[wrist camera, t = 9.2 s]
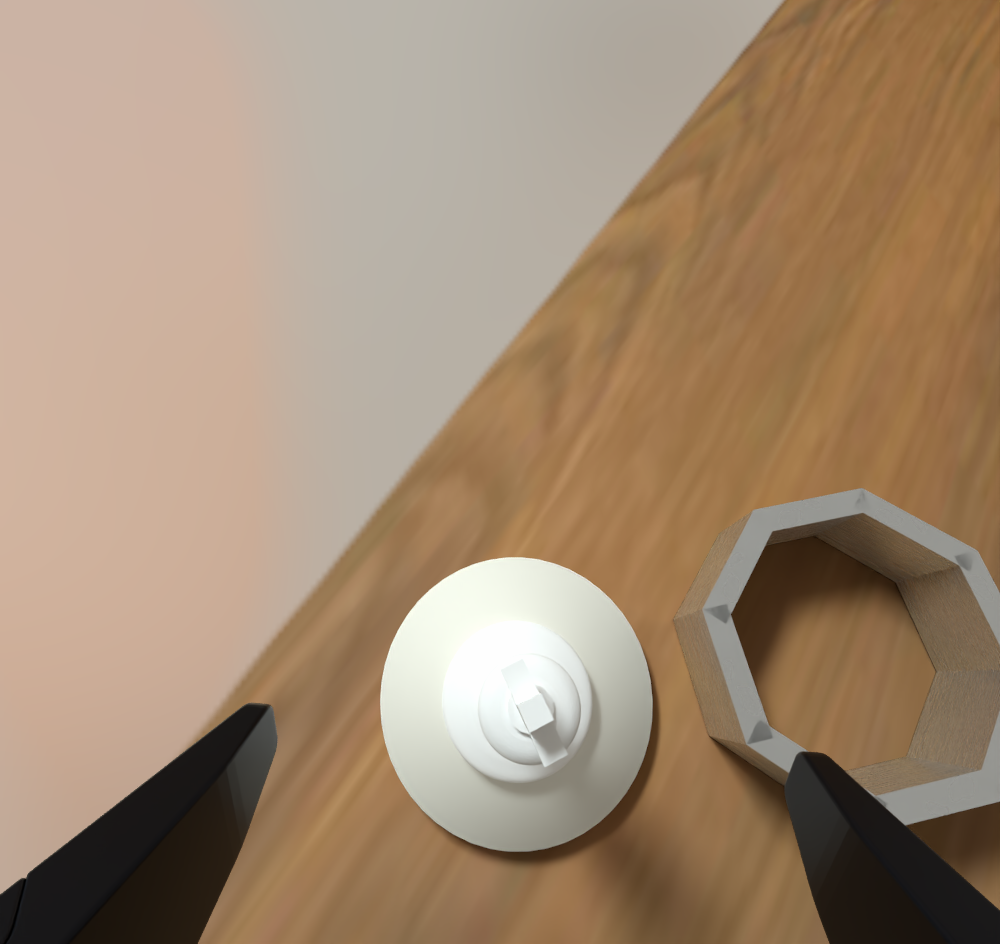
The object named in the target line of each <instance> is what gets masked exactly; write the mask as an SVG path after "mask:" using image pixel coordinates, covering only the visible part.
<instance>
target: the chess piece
mask: <svg viewBox="0 0 1000 944" xmlns="http://www.w3.org/2000/svg"><path fill="white" fill-rule="evenodd" d="M442 709H443V717H444V721H445V725H446V728H447V731H448V734H449V736H450V738H451V740H452V742H453V744H454V746H455V747H456V749H457V750H458V752H459V753H460V754H461V756H462V757H463V758H464V759H465V760H466V761H467V762H468V763H469V764H470V765H471V766H472V767H474V768H475V769H476V770H478V771H479V772H481V773H483V774H484V775H486V776H488V777H491V778H493V779H496V780H499V781H503V782H509V783H528V782H533V781H537V780H541V779H543V778H546V777H548V776H550V775H552V774H554V773H555V772H557V771H558V770H560V769H561V768H562V767H564V766H565V765H566V764H567V763H568V762H569V761H570V760H571V759H572V758H573V757H574V755H575V754H576V753H577V751H578V750H579V748H580V747H581V745H582V743H583V741H584V739H585V737H586V734H587V732H588V729H589V725H590V721H591V715H592V691H591V685H590V681H589V678H588V674H587V672H586V669H585V667H584V665H583V663H582V661H581V659H580V658H579V656H578V654H577V653H576V652H575V650H574V649H573V648H572V647H571V645H570V644H569V643H568V642H567V641H566V640H565V639H563V638H562V637H561V636H560V635H558V634H557V633H555V632H554V631H552V630H550V629H549V628H547V627H544V626H542V625H539V624H536V623H532V622H527V621H505V622H500V623H496V624H493V625H491V626H488V627H486V628H484V629H482V630H480V631H479V632H477V633H476V634H474V635H473V636H472V637H471V638H470V639H468V640H467V641H466V642H465V643H464V644H463V645H462V647H461V648H460V649H459V650H458V652H457V653H456V655H455V656H454V658H453V660H452V662H451V664H450V666H449V668H448V671H447V673H446V677H445V681H444V685H443V693H442Z"/></svg>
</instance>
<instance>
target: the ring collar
mask: <svg viewBox="0 0 1000 944" xmlns="http://www.w3.org/2000/svg"><path fill="white" fill-rule="evenodd" d="M811 536H815V537H817V538H819V539H821V540H822V541H824V542H826V543H828V544H829V545H831V546H833V547H835V548H836V549H838V550H840V551H842V552H843V553H845V554H847V555H849V556H850V557H852V558H854V559H856V560H857V561H859V562H861V563H863V564H864V565H866V566H868V567H870V568H872V569H873V570H875V571H877V572H879V573H880V574H882V575H884V576H886V577H887V578H889V579H891V580H893V581H894V582H896V584H897V587H898V589H899V591H900V593H901V595H902V598H903V600H904V602H905V604H906V606H907V608H908V611H909V613H910V615H911V617H912V619H913V621H914V624H915V626H916V628H917V630H918V632H919V635H920V637H921V639H922V641H923V643H924V645H925V648H926V650H927V652H928V654H929V656H930V658H931V661H932V663H933V665H934V667H935V669H936V671H937V672H936V675H935V678H934V680H933V683H932V686H931V689H930V692H929V695H928V697H927V700H926V703H925V706H924V709H923V712H922V714H921V717H920V720H919V723H918V726H917V729H916V731H915V734H914V737H913V740H912V743H911V746H910V748H909V751H908V754H907V757H903V758H898V759H894V760H890V761H886V762H882V763H878V764H874V765H869V766H865V767H861V768H857V769H853V770H849V771H845V772H847V773H848V774H849V775H850V776H851V777H852V778H853V779H854V780H855V781H857V782H858V783H859V784H860V785H861V786H862V787H863V788H864V789H865V790H867V791H868V792H869V793H870V794H871V795H872V796H873V797H874V798H875V799H877V800H878V801H879V802H880V803H881V804H882V805H883V806H884V807H885V808H887V809H888V810H889V811H890V812H891V813H892V814H893V815H894V816H895V817H897V818H898V819H899V820H900V821H901V822H902V823H903V824H904V825H908V824H912V823H916V822H920V821H924V820H928V819H932V818H936V817H940V816H944V815H948V814H952V813H956V812H960V811H964V810H968V809H972V808H976V807H980V806H984V805H988V804H992V803H996V802H1000V593H999V591H998V589H997V587H996V585H995V583H994V581H993V579H992V577H991V575H990V574H989V572H988V570H987V568H986V566H985V564H984V562H983V560H982V558H981V556H980V554H979V553H978V551H977V550H975V549H974V548H972V547H970V546H968V545H966V544H964V543H963V542H961V541H959V540H957V539H955V538H953V537H951V536H950V535H948V534H946V533H944V532H942V531H940V530H938V529H937V528H935V527H933V526H931V525H929V524H927V523H926V522H924V521H922V520H920V519H918V518H916V517H914V516H913V515H911V514H909V513H907V512H905V511H903V510H902V509H900V508H898V507H896V506H894V505H892V504H890V503H889V502H887V501H885V500H883V499H881V498H879V497H877V496H876V495H874V494H872V493H870V492H868V491H866V490H865V489H863V488H860V489H856V490H851V491H846V492H841V493H836V494H831V495H826V496H821V497H816V498H811V499H806V500H801V501H796V502H791V503H786V504H781V505H776V506H771V507H766V508H761V509H756V510H753V511H751V512H750V513H749V514H747V515H746V516H744V517H743V518H741V519H740V520H738V521H737V522H735V523H734V524H732V525H731V526H729V527H728V528H727V529H725V530H724V531H722V532H721V533H719V535H718V537H717V539H716V540H715V542H714V544H713V546H712V548H711V550H710V552H709V554H708V555H707V557H706V559H705V561H704V563H703V565H702V567H701V569H700V571H699V572H698V574H697V576H696V578H695V580H694V582H693V584H692V586H691V587H690V589H689V591H688V593H687V595H686V597H685V599H684V601H683V602H682V604H681V606H680V608H679V610H678V612H677V614H676V616H675V617H674V619H673V621H674V624H675V627H676V631H677V634H678V637H679V640H680V644H681V647H682V650H683V653H684V657H685V660H686V663H687V666H688V670H689V673H690V676H691V679H692V683H693V686H694V689H695V692H696V696H697V699H698V702H699V705H700V709H701V712H702V715H703V718H704V722H705V725H706V728H707V732H708V735H709V736H710V737H712V738H713V739H715V740H716V741H718V742H719V743H721V744H722V745H724V746H725V747H727V748H728V749H730V750H731V751H733V752H734V753H736V754H737V755H739V756H740V757H742V758H743V759H745V760H746V761H748V762H749V763H750V764H752V765H753V766H755V767H756V768H758V769H759V770H761V771H762V772H764V773H765V774H767V775H768V776H770V777H771V778H773V779H774V780H776V781H777V782H779V783H780V784H782V785H783V786H785V782H786V780H787V777H788V774H789V772H790V769H791V767H792V764H793V761H794V759H795V756H796V754H798V753H799V752H801V751H807V750H805V749H804V748H802V747H801V746H799V745H797V744H796V743H794V742H793V741H791V740H790V739H788V738H787V737H785V736H784V735H782V734H781V733H779V732H778V731H776V730H775V729H773V728H771V727H770V726H769V724H768V721H767V719H766V716H765V713H764V710H763V707H762V704H761V701H760V698H759V695H758V692H757V690H756V687H755V684H754V681H753V678H752V675H751V672H750V669H749V666H748V663H747V661H746V658H745V655H744V652H743V649H742V646H741V643H740V640H739V637H738V634H737V632H736V629H735V626H734V623H733V620H732V617H731V613H732V611H733V609H734V607H735V605H736V603H737V601H738V599H739V597H740V595H741V593H742V591H743V589H744V587H745V585H746V583H747V581H748V579H749V577H750V575H751V573H752V571H753V569H754V567H755V565H756V563H757V561H758V559H759V557H760V555H761V553H762V551H763V549H764V547H765V546H767V545H772V544H777V543H781V542H786V541H791V540H796V539H801V538H806V537H811ZM807 752H808V751H807Z"/></svg>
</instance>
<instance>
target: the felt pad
mask: <svg viewBox="0 0 1000 944" xmlns="http://www.w3.org/2000/svg"><path fill="white" fill-rule="evenodd" d="M505 621H527V622H532V623H536V624H539V625H542V626H544V627H547V628H549V629H550V630H552V631H554V632H555V633H557V634H558V635H560V636H561V637H562V638H563V639H565V640H566V641H567V642H568V643H569V644H570V645H571V647H572V648H573V649H574V650H575V652H576V653H577V654H578V656H579V658H580V659H581V661H582V663H583V665H584V667H585V669H586V672H587V674H588V678H589V681H590V685H591V691H592V715H591V721H590V725H589V729H588V732H587V734H586V737H585V739H584V741H583V743H582V745H581V747H580V748H579V750H578V751H577V753H576V754H575V755H574V757H573V758H572V759H571V760H570V761H569V762H568V763H567V764H566V765H565V766H564V767H562V768H561V769H560V770H558V771H557V772H555V773H554V774H552V775H550V776H548V777H546V778H543V779H541V780H537V781H533V782H528V783H509V782H503V781H499V780H496V779H493V778H491V777H488V776H486V775H484V774H483V773H481V772H479V771H478V770H476V769H475V768H474V767H472V766H471V765H470V764H469V763H468V762H467V761H466V760H465V759H464V758H463V757H462V756H461V754H460V753H459V752H458V750H457V749H456V747H455V746H454V744H453V742H452V740H451V738H450V736H449V734H448V731H447V728H446V725H445V721H444V717H443V709H442V693H443V685H444V681H445V677H446V673H447V671H448V668H449V666H450V664H451V662H452V660H453V658H454V656H455V655H456V653H457V652H458V650H459V649H460V648H461V647H462V645H463V644H464V643H465V642H466V641H467V640H468V639H470V638H471V637H472V636H473V635H474V634H476V633H477V632H479V631H480V630H482V629H484V628H486V627H488V626H491V625H493V624H496V623H500V622H505ZM652 706H653V699H652V689H651V680H650V675H649V671H648V666H647V662H646V659H645V656H644V654H643V651H642V648H641V645H640V643H639V641H638V639H637V637H636V635H635V633H634V631H633V629H632V627H631V626H630V624H629V623H628V621H627V619H626V618H625V616H624V615H623V613H622V612H621V611H620V610H619V609H618V607H617V606H616V605H615V604H614V603H613V601H612V600H611V599H610V598H609V597H608V596H607V595H606V594H604V593H603V592H602V591H601V590H600V589H599V588H598V587H597V586H595V585H594V584H592V583H591V582H590V581H588V580H587V579H586V578H584V577H582V576H580V575H579V574H577V573H575V572H573V571H571V570H569V569H567V568H564V567H562V566H559V565H557V564H554V563H550V562H546V561H543V560H539V559H531V558H523V557H522V558H499V559H492V560H487V561H484V562H480V563H476V564H473V565H471V566H468V567H466V568H463V569H461V570H459V571H457V572H455V573H454V574H452V575H450V576H448V577H447V578H445V579H443V580H442V581H441V582H439V583H438V584H437V585H435V586H434V587H433V588H431V589H430V590H429V591H428V592H427V593H426V594H425V595H424V596H423V597H422V598H421V599H420V600H419V601H418V602H417V604H416V605H415V606H414V607H413V609H412V610H411V611H410V612H409V614H408V615H407V617H406V618H405V620H404V621H403V623H402V625H401V626H400V628H399V630H398V632H397V634H396V636H395V638H394V640H393V643H392V645H391V647H390V650H389V653H388V656H387V660H386V663H385V667H384V672H383V678H382V683H381V698H380V707H381V723H382V728H383V734H384V740H385V743H386V746H387V750H388V753H389V756H390V759H391V762H392V764H393V766H394V768H395V770H396V773H397V775H398V777H399V779H400V780H401V782H402V783H403V785H404V787H405V788H406V790H407V791H408V793H409V795H410V796H411V797H412V798H413V799H414V801H415V802H416V803H417V804H418V805H419V807H420V808H421V809H422V810H423V811H424V812H425V813H426V814H427V815H428V816H429V817H431V818H432V819H433V820H434V821H435V822H436V823H437V824H439V825H440V826H442V827H443V828H445V829H446V830H447V831H449V832H450V833H452V834H453V835H456V836H458V837H460V838H462V839H464V840H466V841H468V842H470V843H473V844H476V845H479V846H482V847H486V848H489V849H495V850H501V851H508V852H529V851H535V850H541V849H547V848H550V847H554V846H557V845H560V844H563V843H566V842H568V841H570V840H572V839H574V838H576V837H578V836H580V835H582V834H584V833H585V832H587V831H588V830H589V829H591V828H592V827H594V826H595V825H597V824H598V823H599V822H600V821H602V820H603V819H604V818H605V817H606V816H607V815H608V814H609V813H610V812H611V811H612V810H613V809H614V808H615V807H616V805H617V804H618V803H619V802H620V800H621V799H622V798H623V797H624V795H625V794H626V793H627V791H628V789H629V788H630V786H631V784H632V783H633V781H634V779H635V778H636V776H637V773H638V771H639V769H640V766H641V764H642V762H643V759H644V756H645V753H646V749H647V746H648V742H649V738H650V731H651V724H652Z"/></svg>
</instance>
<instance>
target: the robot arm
mask: <svg viewBox="0 0 1000 944" xmlns="http://www.w3.org/2000/svg"><path fill="white" fill-rule="evenodd" d="M276 748H277V731H276V724H275V717H274V711H273V708H272V706H271V705H269V704H260V703H248V704H246V705H244V706H242V707H241V708H240V709H238V710H237V711H236V712H235V713H233V714H232V715H231V716H230V717H228V718H227V719H226V720H224V721H223V722H222V723H221V724H219V725H218V726H217V727H215V728H214V729H213V730H212V731H210V732H209V733H208V734H206V735H205V736H204V737H203V738H201V739H200V740H199V741H197V742H196V743H195V744H194V745H192V746H191V747H190V748H188V749H187V750H186V751H185V752H183V753H182V754H181V755H179V756H178V757H177V758H176V759H174V760H173V761H172V762H170V763H169V764H168V765H167V766H165V767H164V768H163V769H161V770H160V771H159V772H158V773H156V774H155V775H154V776H152V777H151V778H150V779H149V780H147V781H146V782H145V783H143V784H142V785H141V786H140V787H138V788H137V789H136V790H134V791H133V792H132V793H131V794H129V795H128V796H127V797H125V798H124V799H123V800H122V801H120V802H119V803H118V804H116V805H115V806H114V807H113V808H112V809H110V810H109V811H107V812H106V813H105V814H104V815H102V816H101V817H100V818H98V819H97V820H96V821H95V822H93V823H92V824H91V825H89V826H88V827H87V828H86V829H84V830H83V831H82V832H80V833H79V834H78V835H77V836H75V837H74V838H73V839H71V840H70V841H69V842H68V843H66V844H65V845H64V846H62V847H61V848H60V849H59V850H57V851H56V852H55V853H53V854H52V855H51V856H50V857H48V858H47V859H46V860H44V861H43V862H42V863H41V864H39V865H38V866H37V867H35V868H34V869H33V870H32V871H30V872H29V873H28V875H27V877H26V878H21V879H20V880H18V881H17V882H16V883H14V884H13V885H12V886H11V887H9V888H8V889H7V890H6V891H4V892H3V893H2V894H0V944H198V942H199V940H200V937H201V935H202V933H203V931H204V929H205V927H206V924H207V922H208V920H209V918H210V916H211V914H212V911H213V909H214V907H215V905H216V903H217V901H218V898H219V896H220V894H221V892H222V890H223V888H224V885H225V883H226V881H227V879H228V877H229V875H230V872H231V870H232V868H233V866H234V864H235V862H236V859H237V857H238V855H239V852H240V850H241V848H242V845H243V843H244V840H245V837H246V835H247V832H248V829H249V826H250V823H251V821H252V818H253V815H254V812H255V809H256V806H257V803H258V801H259V798H260V795H261V792H262V789H263V786H264V784H265V781H266V778H267V775H268V772H269V769H270V766H271V764H272V761H273V758H274V755H275V752H276ZM785 799H786V803H787V806H788V810H789V813H790V817H791V821H792V824H793V828H794V832H795V835H796V839H797V843H798V846H799V850H800V853H801V857H802V861H803V864H804V868H805V872H806V875H807V879H808V883H809V886H810V889H811V893H812V896H813V899H814V902H815V905H816V908H817V911H818V914H819V917H820V919H821V922H822V925H823V927H824V930H825V933H826V935H827V938H828V941H829V943H830V944H1000V910H999V909H998V908H996V907H995V906H994V905H993V904H992V903H991V902H990V901H989V900H988V899H986V898H985V897H984V896H983V895H982V894H981V893H980V892H979V891H978V890H976V889H975V888H974V887H973V886H972V885H971V884H970V883H969V882H968V881H966V880H965V879H964V878H963V877H962V876H961V875H960V874H959V873H958V872H956V871H955V870H954V869H953V868H952V867H951V866H950V865H949V864H948V863H946V862H945V861H944V860H943V859H942V858H941V857H940V856H939V855H938V854H936V853H935V852H934V851H933V850H932V849H931V848H930V847H929V846H928V845H927V844H925V843H924V842H923V841H922V840H921V839H920V838H919V837H918V836H917V835H915V834H914V833H913V832H912V831H911V830H910V829H909V828H908V827H907V826H905V825H904V824H903V823H902V822H901V821H900V820H899V819H898V818H897V817H895V816H894V815H893V814H892V813H891V812H890V811H889V810H888V809H887V808H885V807H884V806H883V805H882V804H881V803H880V802H879V801H878V800H877V799H875V798H874V797H873V796H872V795H871V794H870V793H869V792H868V791H867V790H865V789H864V788H863V787H862V786H861V785H860V784H859V783H858V782H857V781H855V780H854V779H853V778H852V777H851V776H850V775H849V774H848V773H847V772H845V771H844V770H843V769H842V768H841V767H840V766H839V765H838V764H837V763H835V762H834V761H833V760H832V759H831V758H830V757H828V756H827V755H825V754H823V753H818V752H807V751H801V752H799V753H798V754H796V756H795V759H794V761H793V764H792V767H791V769H790V772H789V774H788V777H787V780H786V782H785Z"/></svg>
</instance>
